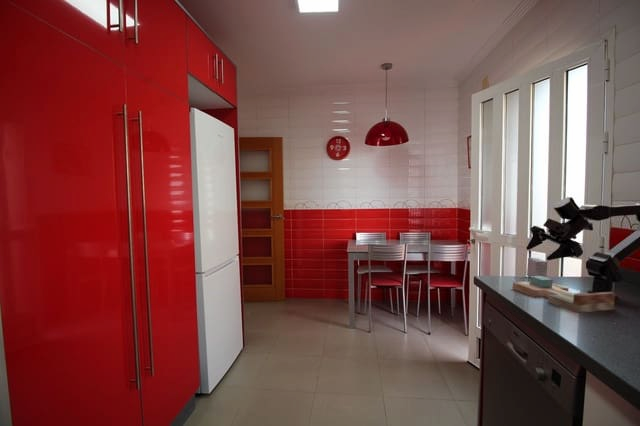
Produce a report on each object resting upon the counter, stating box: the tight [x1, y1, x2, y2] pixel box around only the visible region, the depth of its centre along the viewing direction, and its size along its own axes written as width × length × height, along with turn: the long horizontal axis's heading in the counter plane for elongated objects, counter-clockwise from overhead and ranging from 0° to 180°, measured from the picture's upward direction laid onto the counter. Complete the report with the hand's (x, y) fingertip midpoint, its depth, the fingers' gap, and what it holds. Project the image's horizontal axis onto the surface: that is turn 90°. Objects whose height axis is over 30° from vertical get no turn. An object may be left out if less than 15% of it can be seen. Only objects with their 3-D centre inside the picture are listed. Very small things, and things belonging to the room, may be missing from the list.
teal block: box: [529, 276, 554, 288], centre depth 116 cm, size 5×5×3 cm
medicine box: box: [526, 257, 548, 278], centre depth 134 cm, size 8×4×9 cm, turn 168°
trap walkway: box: [511, 280, 616, 314], centre depth 109 cm, size 16×24×6 cm, turn 14°
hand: (536, 254), depth 114 cm, fingers open, 9 cm apart
